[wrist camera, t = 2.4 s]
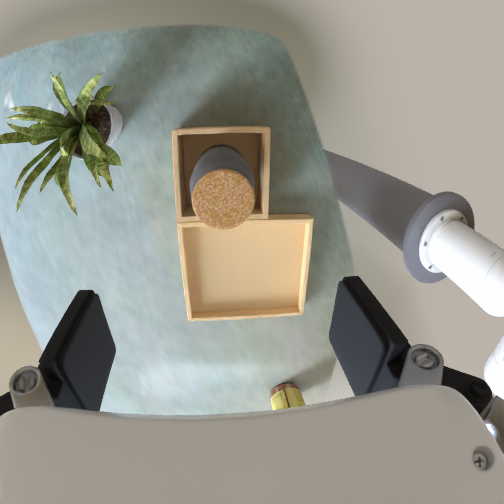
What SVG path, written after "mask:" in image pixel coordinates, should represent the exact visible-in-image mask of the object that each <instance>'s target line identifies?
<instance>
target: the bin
mask: <svg viewBox="0 0 504 504" xmlns="http://www.w3.org/2000/svg"><path fill="white" fill-rule="evenodd" d="M220 144H223V145H229V146H231V147H233V148H235V149H236V150H237V151H239V152H240V154H241V155H242V156H243V158H244V159H245V161H246V163H247V164H248V166H249V168H250V169H251V171H252V174H253V177H254V181H255V189H254V195H255V204H254V208H253V211H252V213H251V214H250V216H249V217H248V219H268V208H269V172H270V127H265V126H212V127H190V128H178V129H174V130H172V147H173V169H174V187H175V202H176V215H177V222H187V221H200V219H199V218H198V217H197V216H196V214H195V212H194V210H193V206H192V198H191V193H190V180H191V176H192V173H193V171H194V168H195V166H196V164H197V162H198V160H199V158H200V156H201V155H202V153H203V152H204V151H205V150H207V149H208V148H210V147H212V146H214V145H220Z"/></svg>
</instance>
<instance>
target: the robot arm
mask: <svg viewBox="0 0 504 504" xmlns="http://www.w3.org/2000/svg"><path fill="white" fill-rule="evenodd" d="M419 257H420V261H421V263H422V265H423V266H424V267H425V268H426V269H427V270H429V271H431V272H434V273H439V272H443V273H445V274H446V275H447V276H448V277H449V278H450V279H451V280H452V281H454V282H455V283H456V284H457V285H458V286H459V287H460V288H461V289H463V290H464V291H465V292H466V293H467V294H468V295H469V296H470V297H471V298H472V299H473V300H474V301H475V302H477V304H479V305H480V306H481V307H482V308H483V309H484V310H485V311H486V312H487V313H489V314H491V315H493V316H504V250H503V249H502V248H501V247H499V246H498V245H496V244H495V243H493V242H492V241H490V240H488V239H487V238H486V237H484V236H482V235H481V234H479V233H478V232H476V231H475V230H473V229H471V228H470V227H468V223H467V220H466V218H465V216H464V215H463V214H462V213H460V212H459V211H457V210H454V209H446V210H443V211H441V212H439V213H438V214H436V215H435V216H434V217H433V218H432V219H431V220H430V222H429V223H428V224H427V226H426V228H425V230H424V232H423V234H422V237H421V240H420V245H419ZM329 340H330V343H331V345H332V347H333V349H334V351H335V353H336V356H337V358H338V360H339V362H340V364H341V366H342V368H343V370H344V373H345V375H346V377H347V379H348V381H349V383H350V386H351V388H352V390H353V392H354V395H355V397H350V398H345V399H340V400H334V401H329V402H324V403H318V404H312V405H306V406H299V407H292V408H285V409H277V410H268V411H258V412H247V413H234V414H217V415H141V414H124V413H112V412H100V407H101V403H102V399H103V395H104V391H105V388H106V384H107V380H108V377H109V373H110V370H111V367H112V363H113V360H114V357H115V353H116V347H115V343H114V341H113V338H112V335H111V332H110V329H109V326H108V323H107V320H106V317H105V314H104V311H103V308H102V305H101V301H100V298H99V295H98V294H95V292H94V291H93V290H79V291H78V292H77V294H76V296H75V297H74V299H73V301H72V302H71V304H70V305H69V307H68V309H67V310H66V312H65V314H64V316H63V317H62V319H61V321H60V322H59V324H58V326H57V328H56V330H55V331H54V333H53V335H52V337H51V339H50V340H49V342H48V344H47V346H46V348H45V350H44V352H43V354H42V356H41V358H40V360H39V363H40V364H39V366H38V368H36V367H33V366H25V367H22V368H20V369H19V370H17V371H16V372H15V373H14V374H13V375H12V377H11V378H10V382H9V389H10V391H9V392H7V393H6V394H4V395H2V396H0V504H504V336H503V337H502V339H501V340H500V342H499V343H498V345H497V346H496V348H495V349H494V351H493V352H492V353H491V355H490V357H489V358H488V360H487V362H486V364H485V367H484V377H485V380H486V382H487V383H486V382H485V381H484V380H482V379H480V378H478V377H475V376H472V375H469V374H466V373H463V372H460V371H457V370H454V369H451V368H448V367H446V366H443V365H444V360H443V357H442V355H441V354H440V352H439V351H438V350H437V349H435V348H434V347H431V346H429V345H424V344H417V345H414V346H412V347H411V346H410V344H409V343H408V340H407V338H406V337H405V336H404V335H403V333H402V332H401V330H400V329H399V328H398V326H397V325H396V324H395V322H394V321H393V320H392V319H391V317H390V316H389V315H388V313H387V312H386V310H385V309H384V308H383V306H382V305H381V304H380V303H379V301H378V300H377V299H376V297H375V296H374V295H373V294H372V292H371V291H370V290H369V289H368V287H367V286H366V285H365V284H364V282H363V281H362V280H361V279H360V277H359V276H350V277H344V278H343V280H342V281H340V282H339V284H338V289H337V295H336V300H335V306H334V311H333V316H332V321H331V326H330V331H329ZM491 390H492V391H493V392H494V394H495V395H496V396H495V398H494V397H492V391H491Z"/></svg>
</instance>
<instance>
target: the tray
mask: <svg viewBox="0 0 504 504" xmlns="http://www.w3.org/2000/svg"><path fill="white" fill-rule="evenodd" d="M313 220H314V219H313V218H312V217H311V216H310V215H309V214H276V215H268V219H247V220H246V221H245V222H243V223H242V224H241V225H239V226H237V227H235V228H232V229H226V230H220V229H214V228H211V227H209V226H207V225H205V224H204V223H203V222H201V221H187V222H178V223H177V227H178V238H179V248H180V258H181V267H182V276H183V284H184V293H185V300H186V308H187V315H188V321H207V320H231V319H249V318H265V317H279V316H292V315H303V311H304V304H305V296H306V288H307V279H308V270H309V261H310V252H311V242H312V231H313Z"/></svg>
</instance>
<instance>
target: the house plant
mask: <svg viewBox="0 0 504 504" xmlns="http://www.w3.org/2000/svg"><path fill="white" fill-rule="evenodd" d="M60 73H61V72H60ZM60 73H59V74H58V76H57V77H56V78H55V77H54V76H53V74H52V73H51V76H52V79H53V81H54V82H53V90H54V93H55V95H56V97H57V99H58V100H59V102H60V103H61V104H62V105H63V107H64V108H65V110H64V112H63V114H60V113H57V112H54V111H50V110H46V109H43V108H40V107H35V106H21V107H15V108H11V109H13V110H15V111H22V112H24V113H26V114H18V115H14V116H11V117H8V118H9V119H19V120H30V121H38V122H39V123H38V124H33V125H31V126H30V127H29V128H27V127H19V126H16V125H13V124H8V123H7V124H8V125H9V126H10V127H11V128H12V129H14V130H15V131H17V132H13V133H5V134H2V135H0V144H6V143H20V142H28V141H29V142H30V143H31V144H32V145H38V144H40V143H43V142H45V141H49V140H53V139H57V138H58V139H57V140H55V141H54V142H53V143H51V144H50V145H49V146H48V147H47V148H46V149H45V150H44V151H42V152H41V153H40V154H39V155H38V156H36V157H35V158H34V159H33V160H32V161H31V162H29V163H28V164H27V165H26V167H25V168H24V169H23V170H22V172H21V174H20V176H19V178H18V180H17V183H16V187H17V185H18V183H19V182H20V180H21V179H22V177H23V176H24V175H25V173H26V172H27V171H28V170H29V169H30V168H31V167H32V166H33V165H34V164H35V163H36V162H37V161H39V160H40V159H41V158H42V157H43V156H44V155H45V154H46V153H47V152H48V151H50V150H51V149H52V150H51V151H50V152H49V153H48V155H47V156H46V157H45V158H44V159H43V160H42V161H41V162H40V163H39V164H38V165H37V166H36V167H35V169H34V170H33V171H32V172H31V173H30V175H29V176H28V177H27V179H26V180H25V182H24V184H23V187H22V190H21V193H20V196H19V199H18V203H17V211H18V209H19V206H20V204H21V202H22V200H23V198H24V196H25V194H26V193H27V191H28V189H29V188H30V186H31V185H32V183H33V182H34V180H35V179H36V178H37V177H38V176H39V174H40V173H41V172H42V171H43V170H44V169H45V168H46V167H47V166H48V164H49V163H50V162H51V160H52V159H53V157H54V156H55V155H56V154H57V153H58V152H59V151H60V154H61V156H60V158H59V159H58V160H57V162H56V163H55V164H54V165H53V166H52V168H51V169H50V170H49V171H48V172H47V174H46V176H45V178H44V181H43V183H42V185H41V188H40V192H41V191H42V189H43V188H44V187H45V185H46V184H47V183H48V181H49V180H50V179H51V178H52V176H53V175H54V174H55V181H56V183H57V185H58V186H59V187H60V188H61V190H62V192H63V194H64V196H65V197H66V199H67V201H68V204H69V206H70V207H71V209H72V210H73V211H74V213H75V214H76V215H77V212H76V208H75V205H74V201H73V198H72V195H71V191H70V187H69V179H68V175H69V168H70V164H71V160H72V157H73V158H76V159H79V160H84V162H85V164H86V166H87V168H88V169H89V170H90V171H91V172H92V174H93V176H94V178H95V181H96V183H97V184H98V185H99V186H100V187H101V185H100V181H99V177H98V175H100V176H103V177H105V179H106V181H107V183H108V184H109V186H110V188H111V189H112V190H113V188H112V180H111V176H110V173H109V164H110V165H119V166H122V165H121V162H120V158H119V156H118V154H117V153H116V152H115V151H114V150H113V149H112V148H111V147H109V145H110V144H111V143H112V142H114V141H115V140H116V139H117V138H118V136H119V135H120V133H121V130H122V126H123V121H122V116H121V114H120V112H119V111H118V110H117V109H116V108H114V107H113V106H111V105H112V104H117V103H113V102H105V100H106V98H107V96H108V94H109V92H110V91H111V90H112V89H113V88H114V87H115V86H104V87H102V88H101V89H100V90H98V92H97V93H96V95H95V97H93V96H92V91H93V90H94V88H95V87H96V85H97V84H98V81H99V79H100V76H101V74H103V73H101V74H98V75H97V76H95V77H94V78H92V79H91V80H89V81H88V83H87V84H86V85H85V86H84V87H83V89H82V90H81V92H80V94H79V96H78V97H77V99H76V100H75V101H73V102H72V103H70V101H69V100H68V97H67V94H66V91H65V88H64V85H63V82H62V80H61V78H60ZM6 119H7V118H6ZM69 156H70V157H69ZM68 158H69V161H68ZM16 187H15V188H16ZM17 211H16V212H17Z"/></svg>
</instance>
